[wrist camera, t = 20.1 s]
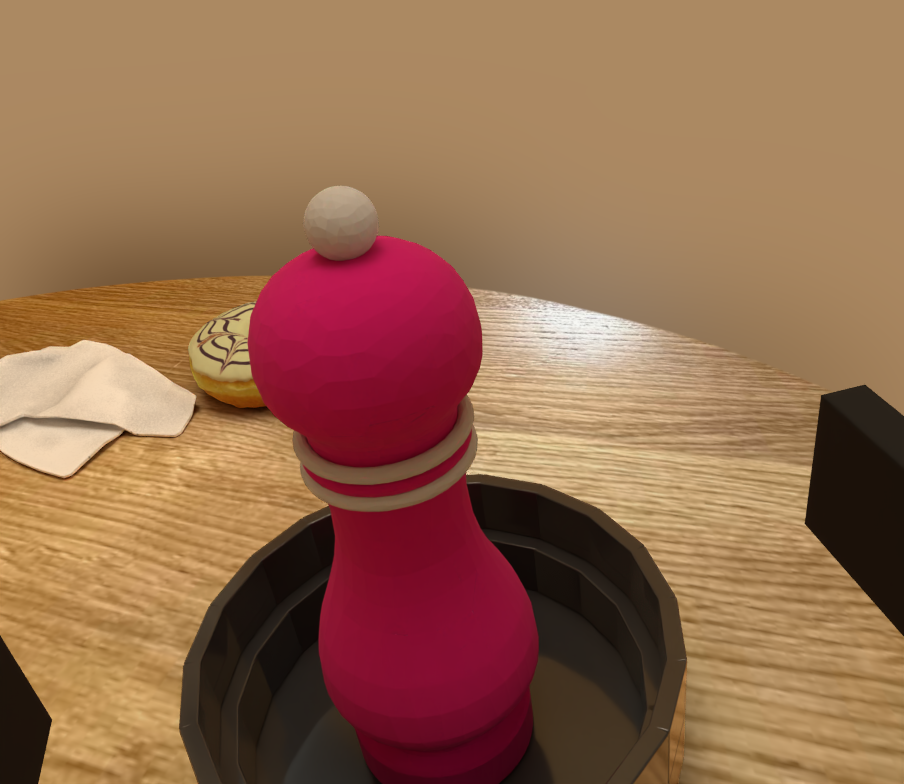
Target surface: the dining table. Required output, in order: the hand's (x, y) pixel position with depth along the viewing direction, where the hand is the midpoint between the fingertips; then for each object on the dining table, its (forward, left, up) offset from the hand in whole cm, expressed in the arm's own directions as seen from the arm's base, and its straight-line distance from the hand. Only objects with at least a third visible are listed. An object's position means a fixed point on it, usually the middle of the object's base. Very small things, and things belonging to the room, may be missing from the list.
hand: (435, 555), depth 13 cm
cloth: (+21, -42, -18) cm, 50 cm away
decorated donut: (+5, -38, -18) cm, 43 cm away
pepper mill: (0, -10, -17) cm, 20 cm away
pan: (0, -10, -18) cm, 20 cm away
